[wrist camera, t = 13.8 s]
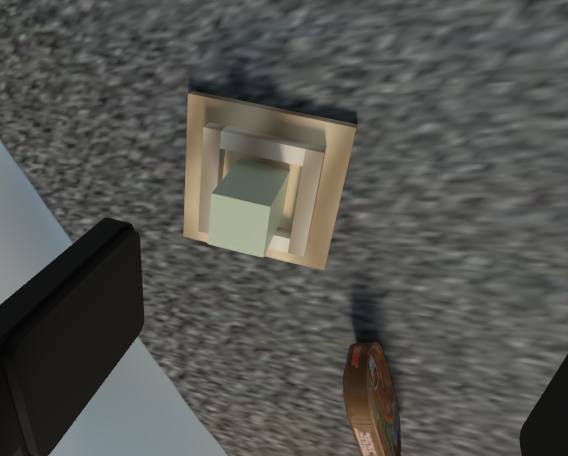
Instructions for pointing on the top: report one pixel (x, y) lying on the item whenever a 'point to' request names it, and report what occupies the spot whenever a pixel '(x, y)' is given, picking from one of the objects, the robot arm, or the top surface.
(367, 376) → the tin
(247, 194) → the pale green block
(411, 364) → the top surface
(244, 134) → the end holder
